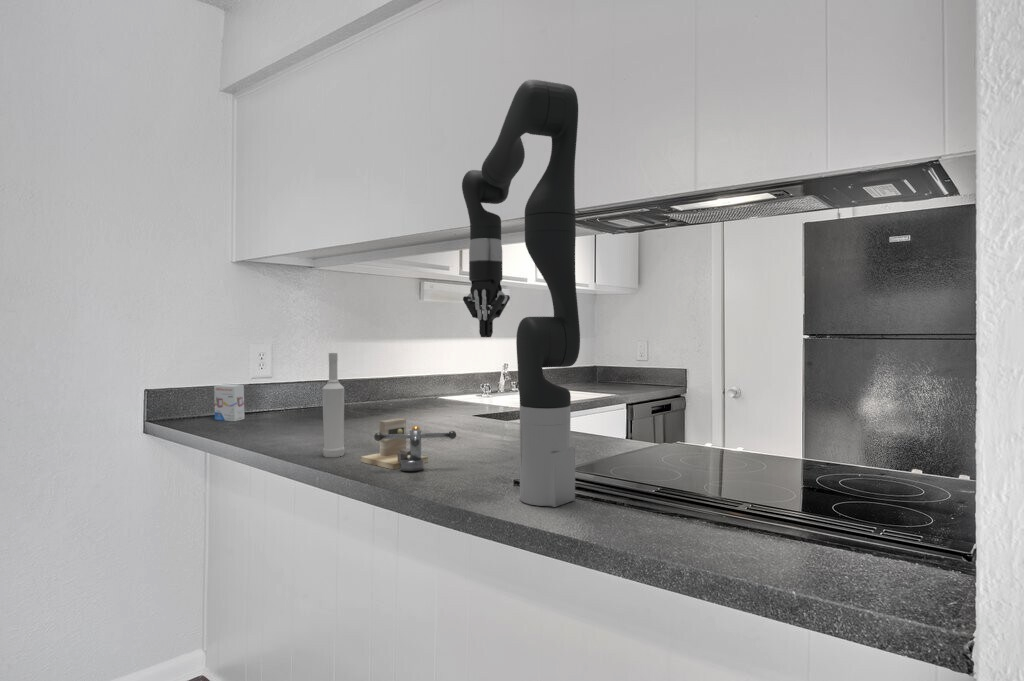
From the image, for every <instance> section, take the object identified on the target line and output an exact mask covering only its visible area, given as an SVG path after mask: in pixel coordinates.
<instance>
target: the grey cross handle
mask: <svg viewBox="0 0 1024 681" xmlns="http://www.w3.org/2000/svg"><path fill="white" fill-rule="evenodd" d="M456 437H457V432H456V431H454V430H449V432H427V433H425V432H424V433H423V432H422V430H420V427H419V426H417V425H414V426H412V429H411V430H409V433H406V434H381V433H379V432H376V433H375V434H374V436H373V438H374V440H375V441H376V442H380V440H382V439H403V438H406V439H409V449H410V457H408V458H403V459H401V460H400V464H401V468H400V470H401V471H403V472H418V471H422V470H424V468H425V466H424V465H425V463H424V459H423V458H421V456H422V439H433V438H436V439H437V438H449V439H450V440H453V439H455V438H456Z"/></svg>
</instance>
